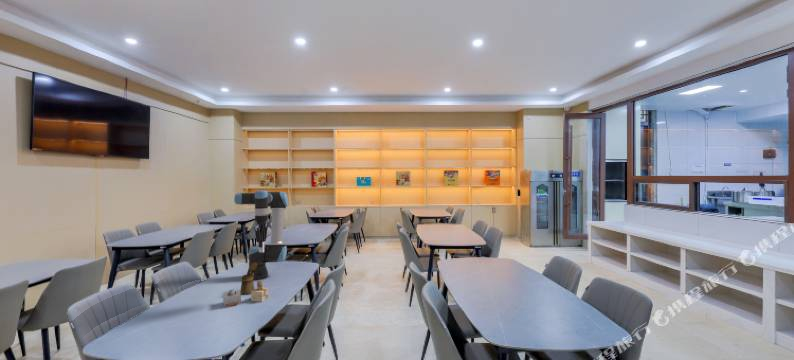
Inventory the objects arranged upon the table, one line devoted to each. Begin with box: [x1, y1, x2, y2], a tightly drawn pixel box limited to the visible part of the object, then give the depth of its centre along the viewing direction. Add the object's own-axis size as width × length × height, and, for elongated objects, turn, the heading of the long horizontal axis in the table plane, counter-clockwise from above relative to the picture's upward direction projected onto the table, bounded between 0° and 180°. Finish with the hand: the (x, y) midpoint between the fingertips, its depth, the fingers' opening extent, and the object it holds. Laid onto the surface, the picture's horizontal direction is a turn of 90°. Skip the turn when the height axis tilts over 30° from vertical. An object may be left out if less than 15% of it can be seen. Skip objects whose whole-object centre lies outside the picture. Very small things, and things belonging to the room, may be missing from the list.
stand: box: [250, 280, 269, 303], centre depth 189 cm, size 7×7×11 cm
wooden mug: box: [239, 262, 258, 296], centre depth 202 cm, size 9×14×18 cm, turn 170°
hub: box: [224, 288, 240, 307], centre depth 182 cm, size 7×7×8 cm
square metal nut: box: [222, 289, 242, 306], centre depth 182 cm, size 9×9×4 cm
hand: (261, 252), depth 193 cm, fingers closed
